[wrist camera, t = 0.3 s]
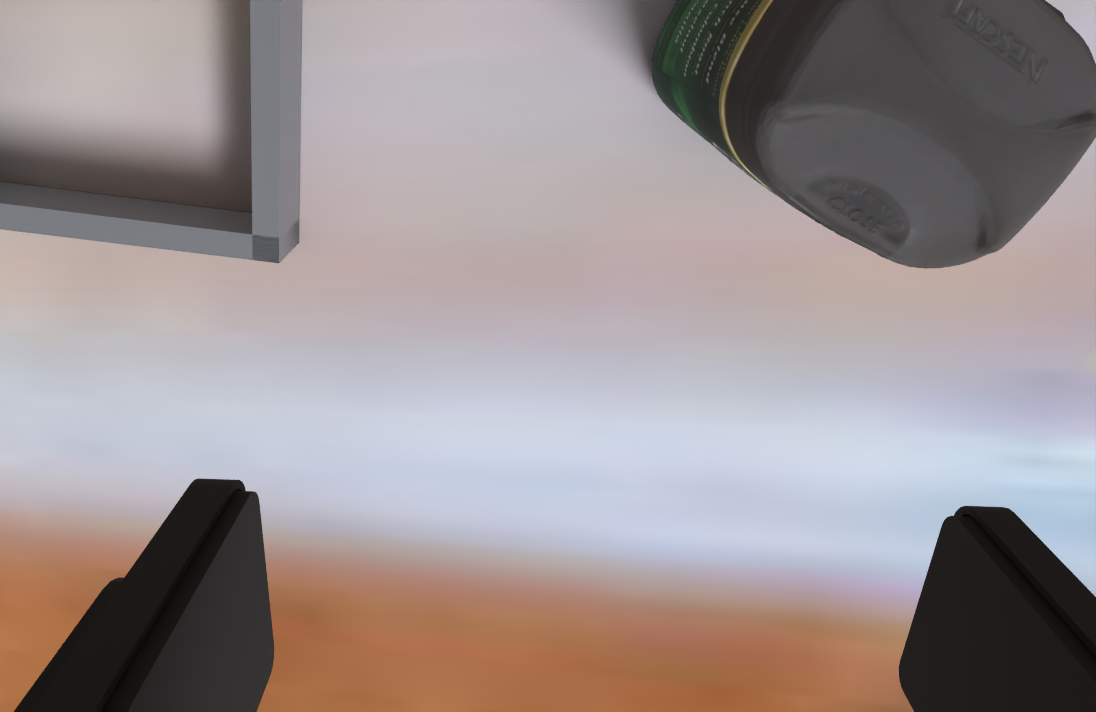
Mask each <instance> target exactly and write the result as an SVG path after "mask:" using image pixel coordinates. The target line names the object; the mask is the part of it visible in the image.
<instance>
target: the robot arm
mask: <svg viewBox="0 0 1096 712" xmlns="http://www.w3.org/2000/svg"><path fill="white" fill-rule="evenodd" d="M273 659H274V640H273V631H272V621H271V611H270V602H269V592H268V582H267V573H266V563H265V553H264V543H263V534H262V524H261V514H260V505H259V498H258V495H257V493H256V492H251V491H245V487H244V484H243V482H241V481H240V480H222V479H195V480H194V481H193V482H192V483H191V484H190V486H189V487H188V488H187V490H186V491H185V493H184V494H183V496H182V497H181V498H180V500H179V501H178V503H177V504H176V505H175V507H174V508H173V510H172V511H171V513H170V514H169V515H168V517H167V518H166V520H165V521H164V522H163V524H162V525H161V527H160V528H159V530H158V531H157V532H156V534H155V535H154V537H153V538H152V540H151V541H150V542H149V544H148V545H147V547H146V548H145V549H144V551H143V552H142V554H141V555H140V557H139V558H138V559H137V561H136V562H135V564H134V565H133V567H132V568H131V569H130V571H129V572H128V574H127V575H126V576H125V578H117V579H114V580H112V581H110V582H109V583H108V585H107V586H106V587H105V588H104V589H103V590H102V591H101V593H100V594H99V595H98V597H97V598H96V599H95V601H94V602H93V604H92V605H91V606H90V608H89V609H88V610H87V612H86V613H85V615H84V616H83V617H82V619H81V620H80V621H79V623H78V624H77V626H76V627H75V628H74V630H73V631H72V632H71V634H70V635H69V637H68V638H67V639H66V641H65V642H64V643H63V645H62V646H61V648H60V649H59V650H58V652H57V653H56V654H55V656H54V657H53V659H52V660H51V661H50V663H49V664H48V665H47V667H46V668H45V669H44V671H43V672H42V674H41V675H40V676H39V678H38V679H37V680H36V682H35V683H34V685H33V686H32V687H31V689H30V690H29V691H28V693H27V694H26V696H25V697H24V698H23V700H22V701H21V702H20V704H19V705H18V707H17V708H16V709H15V711H14V712H256V711H257V709H258V706H259V703H260V701H261V698H262V696H263V693H264V690H265V688H266V685H267V683H268V680H269V677H270V674H271V671H272V666H273ZM899 678H900V683H901V687H902V689H903V692H904V694H905V696H906V697H907V699H908V701H909V703H910V705H911V706H912V708H913V710H914V712H1096V597H1095V596H1094V595H1093V594H1092V593H1091V592H1090V591H1089V590H1088V589H1087V588H1086V587H1085V586H1084V585H1083V584H1082V582H1081V581H1080V580H1079V579H1078V578H1077V577H1076V576H1075V575H1074V574H1073V573H1072V572H1071V571H1070V570H1069V569H1068V568H1067V567H1066V566H1065V565H1064V564H1063V563H1062V562H1061V561H1060V560H1059V559H1058V558H1057V557H1056V556H1055V555H1054V553H1053V552H1052V551H1051V550H1050V549H1049V548H1048V547H1047V546H1046V545H1045V544H1044V543H1043V542H1042V541H1041V540H1040V539H1039V538H1038V537H1037V536H1036V535H1035V534H1034V533H1033V532H1032V531H1031V530H1030V529H1029V528H1028V527H1027V525H1026V524H1025V523H1024V522H1023V521H1022V520H1021V519H1020V518H1019V517H1018V516H1017V515H1016V514H1015V513H1014V512H1012V511H1011V510H1010V509H1008V508H1004V507H981V506H963V507H961V508H959V509H958V510H957V511H956V513H955V515H954V516H950V517H947V518H946V519H945V520H944V522H943V524H942V527H941V530H940V533H939V537H938V540H937V543H936V546H935V550H934V553H933V556H932V559H931V563H930V566H929V569H928V572H927V576H926V579H925V582H924V585H923V589H922V592H921V595H920V598H919V602H918V605H917V608H916V611H915V615H914V618H913V621H912V624H911V628H910V631H909V634H908V637H907V641H906V644H905V647H904V650H903V654H902V657H901V660H900V665H899Z"/></svg>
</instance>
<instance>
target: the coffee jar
mask: <svg viewBox="0 0 1096 712" xmlns="http://www.w3.org/2000/svg"><path fill="white" fill-rule="evenodd" d="M652 76H653V81H654V85H655V88H656V90H657V93H658V95H659V96H660V98H661V100H662V101H663V102H664V104H665V105H666V106H667V107H668V108H669V109H670V110H671V111H672V112H673V113H674V114H675V115H676V116H678V117H679V118H680V119H681V120H682V121H683V122H684V123H686V124H687V125H688V126H689V127H690V128H692V129H693V130H694V131H695V132H697V133H698V134H699V135H700V136H702V137H703V138H704V139H705V140H706V141H708V142H709V143H711V144H712V145H713V146H714V147H715V148H716V149H717V150H719V151H720V152H721V153H722V154H723V155H724V156H726V157H727V158H728V159H729V160H730V161H731V162H732V163H734V164H735V165H736V166H737V167H739V168H740V169H741V170H743V171H744V172H745V173H746V174H747V175H749V176H750V177H752V178H753V179H754V180H756V181H757V182H758V183H760V184H761V185H762V186H764V187H765V188H767V189H768V190H769V191H771V192H772V193H774V194H775V195H777V196H778V197H780V198H781V199H782V200H784V201H785V202H787V203H788V204H790V205H791V206H792V207H794V208H796V209H797V210H799V211H800V212H802V213H804V214H805V215H807V216H809V217H810V218H811V219H813V220H815V221H816V222H818V223H820V224H822V225H824V227H827V228H828V229H830V230H832V231H834V232H835V233H837V234H838V235H840V236H842V237H845V238H847V239H849V240H851V241H853V242H855V243H857V244H859V245H861V246H863V247H865V248H867V249H869V250H871V251H873V252H875V253H876V254H878V255H880V256H881V257H884V258H886V259H888V260H891V261H893V262H896V263H898V264H902V265H906V266H909V267H916V268H943V267H950V266H955V265H960V264H964V263H967V262H970V261H973V260H976V259H978V258H980V257H982V256H985V255H987V254H990V253H993V252H996V251H998V250H999V249H1001V248H1002V247H1004V246H1005V245H1006V244H1007V243H1008V242H1009V241H1010V240H1011V239H1012V238H1013V237H1014V236H1015V235H1016V234H1017V233H1018V232H1019V231H1020V230H1021V229H1022V228H1023V227H1024V226H1025V225H1026V224H1027V223H1028V221H1029V220H1030V219H1031V218H1032V217H1033V216H1034V215H1035V214H1036V213H1037V212H1038V211H1039V210H1040V209H1041V207H1042V206H1043V205H1044V204H1045V203H1046V202H1047V201H1048V199H1049V198H1050V197H1051V196H1052V195H1053V193H1054V192H1055V191H1056V190H1057V189H1058V187H1059V186H1060V185H1061V184H1062V183H1063V181H1064V180H1065V179H1066V178H1067V176H1068V175H1069V174H1070V172H1071V171H1072V170H1073V169H1074V167H1075V166H1076V165H1077V163H1078V162H1079V161H1080V159H1081V158H1082V156H1083V155H1084V153H1085V152H1086V151H1087V149H1088V148H1089V146H1090V145H1091V144H1092V142H1093V141H1094V139H1095V137H1096V64H1095V61H1094V59H1093V56H1092V54H1091V52H1090V49H1089V47H1088V46H1087V44H1086V43H1085V41H1084V40H1083V38H1082V37H1081V36H1080V35H1079V34H1078V33H1077V32H1076V31H1075V30H1074V29H1073V28H1072V27H1071V26H1070V25H1069V24H1068V23H1067V22H1066V21H1065V18H1064V15H1063V14H1062V12H1060V11H1059V10H1057V9H1056V8H1055V7H1053V6H1052V5H1050V4H1049V3H1048V2H1046V1H1045V0H679V1H678V2H677V4H676V5H675V7H674V8H673V10H672V12H671V14H670V15H669V17H668V19H667V21H666V23H665V25H664V27H663V29H662V31H661V33H660V36H659V38H658V41H657V44H656V47H655V50H654V54H653V59H652Z"/></svg>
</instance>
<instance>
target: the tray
mask: <svg viewBox="0 0 1096 712" xmlns="http://www.w3.org/2000/svg"><path fill="white" fill-rule="evenodd" d="M301 54H302V0H250V63H251V158H252V213H246V212H238V211H231V210H223V209H215V208H207V207H199V206H191V205H183V204H175V203H167V202H159V201H151V200H144V199H136V198H128V197H120V196H112V195H104V194H96V193H88V192H80V191H72V190H65V189H57V188H49V187H41V186H33V185H25V184H17V183H9V182H1V181H0V229H3V230H11V231H20V232H28V233H36V234H44V235H52V236H61V237H69V238H77V239H85V240H93V241H102V242H110V243H118V244H126V245H134V246H143V247H151V248H159V249H167V250H175V251H183V252H192V253H200V254H208V255H216V256H224V257H233V258H241V259H249V260H257V261H265V262H274V263H280V262H281V261H282V260H283V259H284V258H285V257H286V256H287V254H288V253H289V252H290V251H291V250H292V249H293V248H294V247H295V246H296V245H297V244H298V243H299V204H300V129H301Z"/></svg>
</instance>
